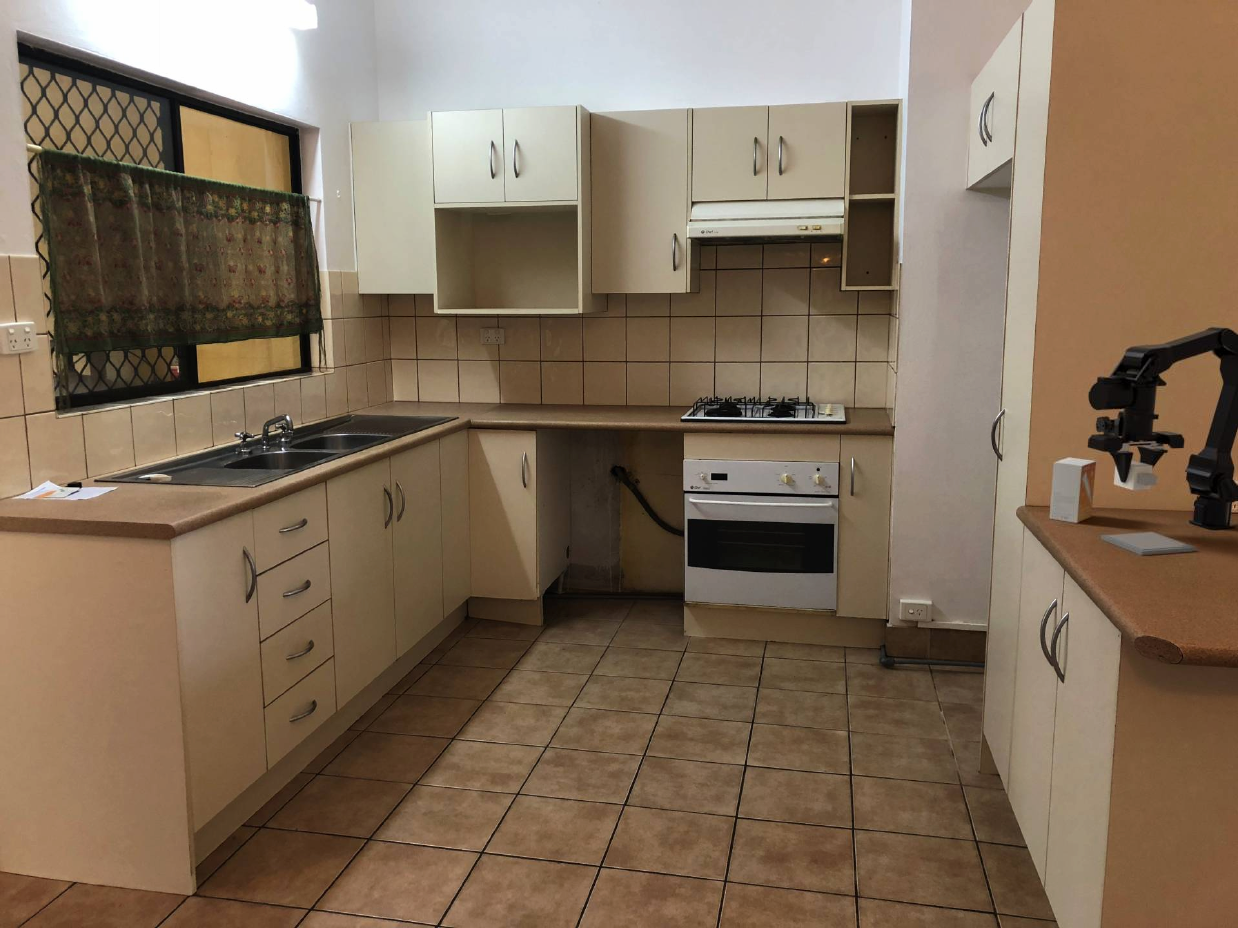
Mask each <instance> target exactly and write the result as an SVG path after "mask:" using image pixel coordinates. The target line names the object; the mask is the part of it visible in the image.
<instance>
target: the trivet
mask: <svg viewBox="0 0 1238 928" xmlns="http://www.w3.org/2000/svg"><path fill="white" fill-rule="evenodd" d="M1100 539H1101V540H1102V541H1105V542H1106V543H1109V544H1112V545H1115V546H1117V547H1120V548H1122V549H1124V550H1126V551H1130V552H1132V553H1135V554H1137V555H1139V556H1150V555H1164V554H1175V553H1176V554H1177V553H1189V552H1190V553H1192V552H1196V547H1195V546H1192V545H1190V544H1187V543H1184V542H1182V541H1179V540H1176V539H1173V538H1172V537H1171V538H1170V537H1167V536H1165V535H1162V534H1160V533H1156V532H1154V531H1146V532H1145V531H1144V532H1132V533H1129V532H1128V533H1119V534H1118V533H1117V534H1105V535H1104V534H1103V535H1100Z"/></svg>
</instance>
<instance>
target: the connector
mask: <svg viewBox="0 0 1238 928" xmlns="http://www.w3.org/2000/svg"><path fill="white" fill-rule="evenodd" d="M1152 467H1153V466H1152V465H1148V464H1145V463H1141V462H1140V461H1137V460H1133V459H1132V461H1131V465H1130V470H1129V474H1128V478H1127V480H1126V483H1123V482H1121V481H1120V478H1119V474H1118V471H1117V468H1116V465H1115V467H1114V478H1113V485H1114V486H1118V487H1122V488H1125V489H1128V490H1131V491H1143V490H1145V491H1147V490H1151V487H1152V486H1157V480H1158V474H1154V473H1153V469H1152ZM1153 468H1154V467H1153Z"/></svg>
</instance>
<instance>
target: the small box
mask: <svg viewBox="0 0 1238 928" xmlns="http://www.w3.org/2000/svg"><path fill="white" fill-rule="evenodd" d="M1096 466H1097V460H1091V459H1084V458H1077V457H1076V458H1075V457H1070V456H1068V457H1065V458H1064V459H1060V460H1057V461H1054V462H1053V468H1052V469H1053V471H1052V483H1051V484H1052V485H1051V495H1050V496H1051V497H1050V508H1049V510H1050V511H1049V519H1051V520H1055V521H1062V522H1067V523H1074V524H1078V523H1080V522H1082V521H1084V520H1086V519H1089V518H1091V517H1092V513H1093V512H1092V511H1093V501H1094V500H1093V499H1094V488H1095V478H1096Z"/></svg>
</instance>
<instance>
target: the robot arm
mask: <svg viewBox="0 0 1238 928" xmlns="http://www.w3.org/2000/svg"><path fill="white" fill-rule="evenodd" d="M1210 352H1211V353H1212V354H1213V355H1214V356H1215V357H1217V358H1218V359H1219V360H1220V362H1219V363H1220V364H1219V372H1220V377H1221V380H1222V387H1221V391H1220V393H1219V394H1220V395H1219V397H1218V400H1217V403H1216V407H1215V410H1214V414H1213V418H1212V421H1211V424H1210V428H1209V430H1208V431H1209V432H1208V434H1207V438H1206V440H1205V441H1206V442H1205V443H1204V447H1203V449H1202V450H1201V451H1200V452H1198V453H1197V454H1194V453H1191V455H1190V456H1189V458H1188V464H1187V466H1186V468H1185V470H1184V472H1185V473H1186V474H1185V475H1186V476H1185V480H1186V482H1187V483H1188V487H1189V492H1190V495H1195V496H1196V502H1195V503H1194V507H1193V517H1192V519H1188V522H1189V523H1190V524H1194V525H1197V526H1200V527H1203V528H1205V529H1209V530H1217V529H1231V528H1236V526H1237V525H1236V524H1233V523H1232V522H1231V517H1232V508H1233V503H1235V502H1238V483H1236V481H1235V480H1234V475H1235V474H1234V473H1235V464H1234V461H1233V458H1232V450H1233V446H1234V443H1235V439H1236V436H1237V434H1238V333H1237V332H1235V331H1234V330H1233V329H1231V328H1229V327H1217V326H1211V327H1208V328H1206V329H1205V330H1202V331H1199V332H1196V333H1193V334H1189V335H1187V336H1186V335H1185V336H1184V337H1181V338H1177V339H1174V340H1170V341H1168V342H1165V343H1160V344H1159V343H1158V344H1143V345H1136V346H1135V345H1134V346H1130V347H1128V348H1127V349H1126V350H1125V352H1124V355H1123V356H1122V358H1121V359H1120V361H1119V362H1118V364H1117V365H1116V366H1115V368H1114V369H1113V370H1112V372H1111V373H1110V375H1109V376H1108V377H1107V376H1097V378H1096V382H1095V383H1094V384H1093V385H1092V386H1091V388H1090V389H1089V391H1088V402H1089V405H1090V407H1091V408H1092V409H1094V410H1095V411H1108V410H1109V411H1111V410H1113V411H1114V410H1119V411H1118V414H1117V418H1114V419H1110V416H1106V415H1105V416H1099V417H1096V421H1095V422H1096V423H1095V430H1096V431H1097V433H1096V434H1091V435H1090V436H1089V438H1088V440H1087V448H1089V449H1092V450H1097V451H1098V452H1099V451H1100V452H1103V453H1108V454H1109V455H1111V457H1112V459H1113V463H1114V465H1115V466H1116V468H1117V471H1118V474H1119V478H1120V481H1121V482H1123V483H1126V480H1127V478H1128V474H1129V470H1130V465H1131V461H1132V460H1133V457H1134V452H1133V451H1130V450H1129V449H1130V447H1137V450H1138V453H1139V462H1141V463H1145V464H1148V465H1152V466H1153V467H1152V470H1153V469H1154V467H1155V466H1156V464H1157V463H1158V462H1159V461H1160V459H1161V458H1163V455H1165V454H1167V453H1168V452H1169V450H1168V449H1164V445H1168V447H1169V448H1170V449H1184V448H1185V437H1184V436H1183V434H1182V433H1177V432H1174V431H1167V430H1164V431H1163V430H1161V431H1160V430H1159V431H1153V430H1154V423H1155V422H1154V421H1155V420H1159V413H1155V410H1156V399H1157V391H1158V390H1157V389H1158V387H1166V386H1167V382H1166V381H1165V380H1164V379H1163V378H1161V376H1160V375H1161V374H1163V373H1164V372H1166V371H1169V370H1170V369H1171V367H1172V366H1173V365H1174V364H1176V363H1178V362H1181V361H1184V360H1186V359H1190V358H1194V357H1196V356H1199V355H1202V354H1204V353H1205V354H1206V353H1210ZM1120 410H1122V411H1120ZM1098 433H1099V434H1098ZM1100 433H1101V434H1100Z"/></svg>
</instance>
